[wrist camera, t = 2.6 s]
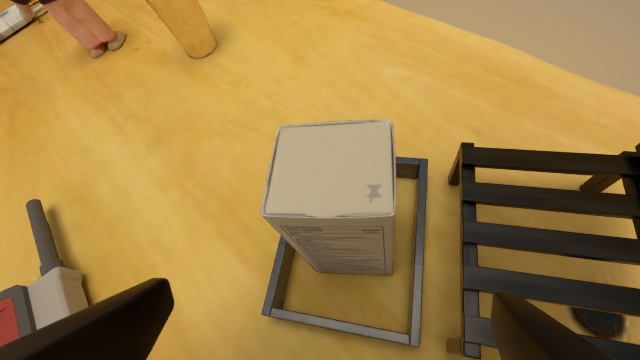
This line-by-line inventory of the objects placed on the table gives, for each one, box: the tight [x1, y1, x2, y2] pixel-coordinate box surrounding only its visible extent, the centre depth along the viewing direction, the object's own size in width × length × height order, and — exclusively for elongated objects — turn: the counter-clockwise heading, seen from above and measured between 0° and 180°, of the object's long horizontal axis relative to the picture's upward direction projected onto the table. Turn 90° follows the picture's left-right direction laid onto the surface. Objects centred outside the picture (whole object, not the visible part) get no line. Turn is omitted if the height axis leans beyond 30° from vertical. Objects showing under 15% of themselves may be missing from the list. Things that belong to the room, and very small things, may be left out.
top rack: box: [447, 142, 640, 360], centre depth 16 cm, size 9×11×5 cm
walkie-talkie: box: [0, 199, 89, 347], centre depth 19 cm, size 9×4×20 cm
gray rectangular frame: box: [262, 157, 428, 347], centre depth 20 cm, size 9×11×2 cm
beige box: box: [260, 119, 396, 275], centre depth 16 cm, size 5×4×10 cm
